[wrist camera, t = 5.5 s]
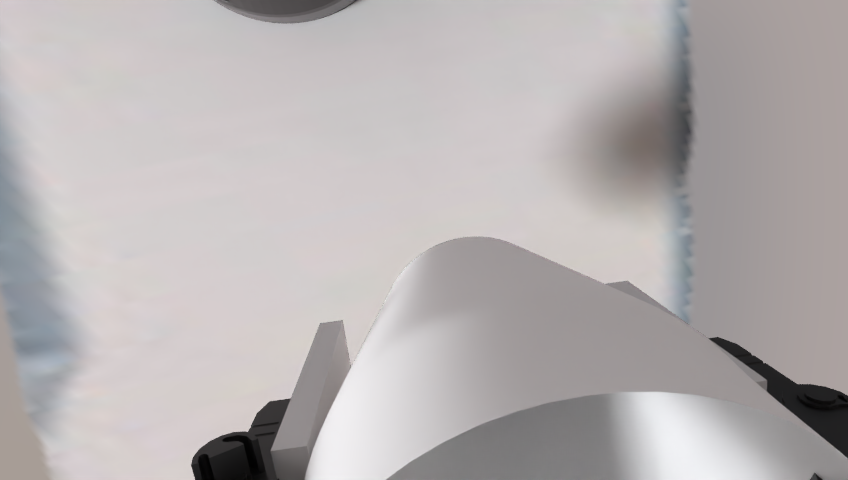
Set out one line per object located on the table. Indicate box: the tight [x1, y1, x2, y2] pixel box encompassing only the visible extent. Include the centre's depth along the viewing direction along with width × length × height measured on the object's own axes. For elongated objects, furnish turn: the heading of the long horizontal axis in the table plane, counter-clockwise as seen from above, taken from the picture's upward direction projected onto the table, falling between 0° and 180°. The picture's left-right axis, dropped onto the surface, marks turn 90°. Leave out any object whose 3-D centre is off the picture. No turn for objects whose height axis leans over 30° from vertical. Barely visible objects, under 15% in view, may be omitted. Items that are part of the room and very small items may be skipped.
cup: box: [305, 237, 848, 480], centre depth 12 cm, size 9×9×12 cm
